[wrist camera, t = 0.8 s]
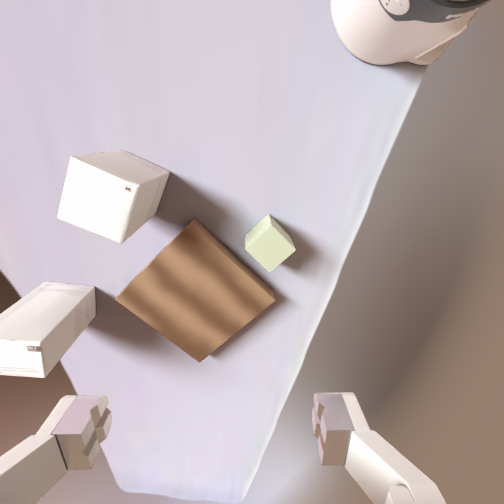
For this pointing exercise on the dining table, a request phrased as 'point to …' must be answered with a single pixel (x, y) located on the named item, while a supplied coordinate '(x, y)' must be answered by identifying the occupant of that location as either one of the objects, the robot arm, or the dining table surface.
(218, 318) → the walnut stand
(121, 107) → the dining table surface
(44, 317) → the skincare box
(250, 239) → the sage block
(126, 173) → the supplement box
